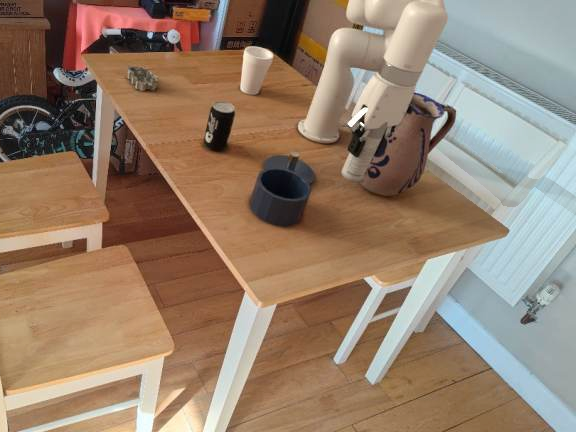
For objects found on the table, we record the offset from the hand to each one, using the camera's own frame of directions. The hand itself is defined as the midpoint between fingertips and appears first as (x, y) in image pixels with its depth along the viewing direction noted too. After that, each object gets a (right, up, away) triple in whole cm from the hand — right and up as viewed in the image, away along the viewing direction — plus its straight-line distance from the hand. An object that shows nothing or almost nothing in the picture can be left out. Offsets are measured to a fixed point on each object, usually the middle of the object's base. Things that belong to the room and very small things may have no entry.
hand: (362, 151), depth 108 cm
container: (-1, -5, +4) cm, 7 cm away
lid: (-10, -2, +27) cm, 29 cm away
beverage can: (-30, +6, +32) cm, 44 cm away
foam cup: (-17, +28, +62) cm, 70 cm away
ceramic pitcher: (+16, -5, +31) cm, 35 cm away
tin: (-16, -12, +15) cm, 25 cm away
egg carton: (-52, +28, +53) cm, 79 cm away
